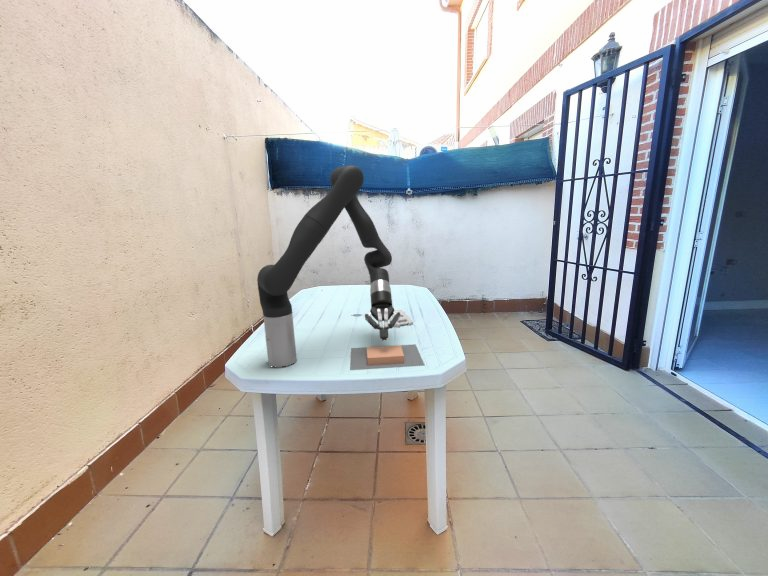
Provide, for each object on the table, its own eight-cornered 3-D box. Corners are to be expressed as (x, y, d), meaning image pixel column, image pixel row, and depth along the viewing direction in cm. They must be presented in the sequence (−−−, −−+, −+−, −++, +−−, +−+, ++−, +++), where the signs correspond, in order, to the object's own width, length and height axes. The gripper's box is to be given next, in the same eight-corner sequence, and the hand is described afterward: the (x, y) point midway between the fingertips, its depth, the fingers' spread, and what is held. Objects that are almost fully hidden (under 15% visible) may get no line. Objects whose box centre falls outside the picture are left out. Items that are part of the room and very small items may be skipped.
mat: (350, 371, 108) (349, 370, 108) (351, 349, 126) (351, 348, 126) (424, 366, 110) (424, 365, 110) (415, 345, 127) (415, 344, 127)
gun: (384, 309, 163) (404, 307, 165) (384, 316, 164) (404, 314, 166) (393, 323, 146) (416, 321, 148) (393, 330, 147) (416, 328, 149)
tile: (367, 354, 120) (367, 365, 111) (366, 347, 119) (367, 358, 111) (400, 351, 121) (404, 362, 112) (400, 345, 120) (404, 355, 111)
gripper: (362, 290, 120) (364, 335, 111) (399, 288, 121) (405, 333, 111) (362, 301, 126) (364, 344, 117) (398, 299, 127) (403, 342, 118)
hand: (384, 339), depth 114 cm, fingers closed
